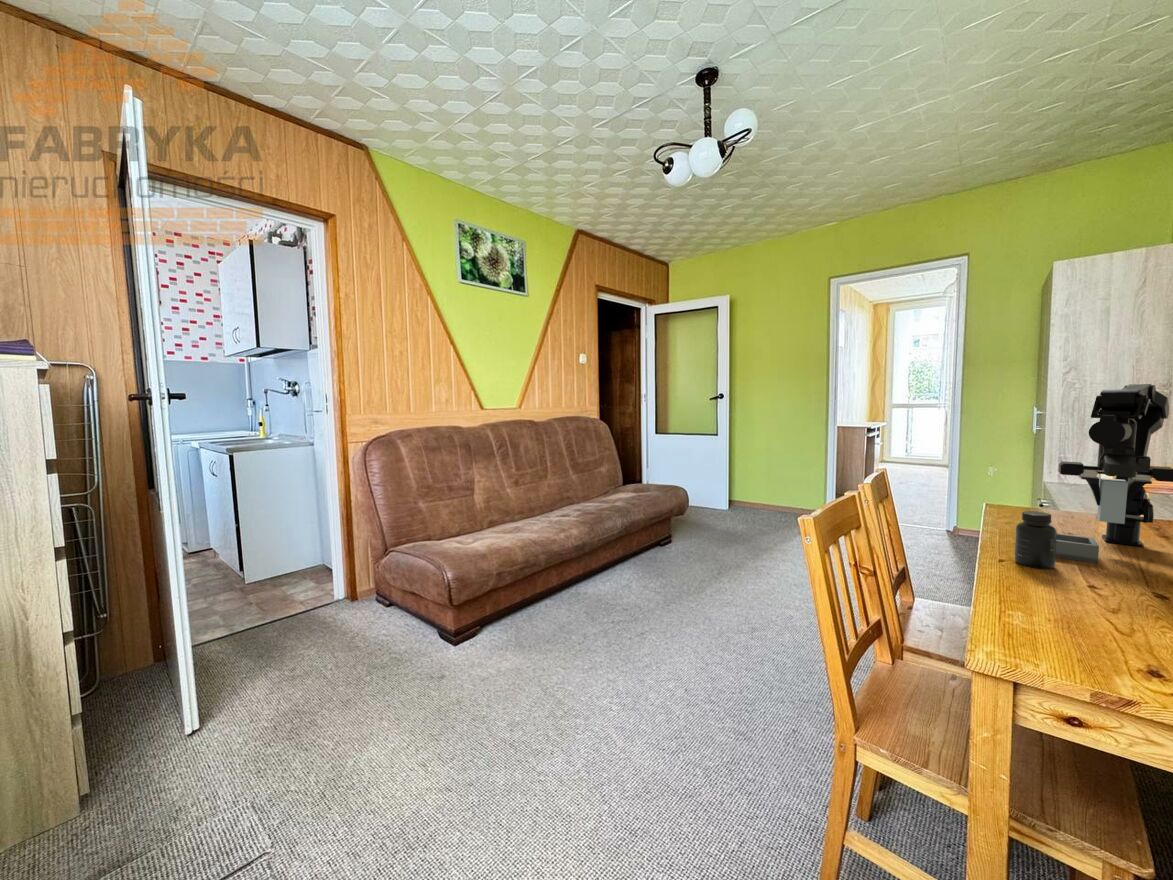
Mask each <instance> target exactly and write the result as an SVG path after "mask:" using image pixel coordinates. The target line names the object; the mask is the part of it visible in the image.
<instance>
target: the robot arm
mask: <svg viewBox="0 0 1173 880" xmlns="http://www.w3.org/2000/svg"><path fill="white" fill-rule="evenodd" d="M1092 407H1093V408H1092V409H1091V410H1092V411H1091V414H1090V418H1091V419H1099V421H1096V422H1094V423H1093V424H1092V425H1091V426H1090V427H1089V430H1088V436H1089V438H1090V439H1091V441H1092V442H1094V443H1096V444H1098V454H1097V466H1096V465H1084V464H1083V463H1082V462H1081V461H1079V462H1078V461H1063V460H1062V461H1060V462H1058V470H1057V471H1058V473H1059V474H1060V475H1062V476H1063V475H1065V476H1075V477H1076V476H1078V477H1079V478H1080V480H1084V481H1085V480H1086V482H1087V484H1088V486H1089V487H1090V490H1091V493H1092V496H1093V498H1094V501H1095V503H1096V506H1098V505H1099V506H1100V488H1099V487H1100V478H1099V477H1098V475H1105V476H1107V477H1115V478H1114V479H1121V480H1126V481H1127V482H1128V489H1127V501H1126V512H1125V524H1120V523H1111V522H1106V528H1105V529H1106V531H1105V534H1101V537H1102V539H1103V540H1104V542H1105V543H1110V544H1111V543H1112V544H1121V545H1129V546H1134V547H1145V544H1144V543H1143V542H1142V541H1141V540H1140V536H1141V525H1142V524H1141V523H1144V524H1148V523H1154V518H1155V517H1154V516H1155V515H1154V505H1153V504H1152V503H1151V499H1150V498H1149V497H1148V494H1147V492H1146V489H1145V488H1144V486H1145V485H1152V484H1153V481H1152V479H1154V480H1155V481H1157V482H1168V483H1173V468H1172V467H1171V466H1158V465H1157V466H1156V465H1151V457H1150V456H1149V455H1148V450H1149V445H1150V441H1151V437H1152V435H1153V434H1154V433H1157V432H1158V430H1160V429H1162V428H1163V425H1164V421H1165V420H1167V419H1168V418H1169V414H1170V404H1169V398H1168V397H1167V396H1166V395H1164V394H1162V393H1161V392H1159V391H1157V388H1156V385H1155V384H1151V383H1144V384H1143V383H1139V384H1136V383H1135V384H1133V383H1131V384H1130V383H1129V384H1128V385H1124V387H1122V388H1121V389H1102V390H1101V391H1100V394H1097V395H1096V396H1095V400H1094V403H1093V406H1092Z"/></svg>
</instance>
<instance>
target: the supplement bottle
mask: <svg viewBox="0 0 1173 880" xmlns="http://www.w3.org/2000/svg"><path fill="white" fill-rule="evenodd" d="M1021 520H1022V522H1019V523H1018V524H1016V526H1015V537H1014V539H1015V542H1014V544H1015V545H1014V561H1015V562H1016V563H1017V564H1018V565H1022V566H1025V567H1029V568H1034V569H1039V570H1040V569H1042V570H1047V569H1048V570H1049V569H1053V568H1055V566H1056V558H1057V557H1056V540H1057V532H1058V531H1057V529H1056V528H1055V527H1054V526H1053V525H1051V524H1052V514H1051V513H1049V512H1044V511H1043V512H1042V511H1035V510H1023V511H1022V514H1021Z"/></svg>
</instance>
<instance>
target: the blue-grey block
mask: <svg viewBox="0 0 1173 880" xmlns="http://www.w3.org/2000/svg"><path fill="white" fill-rule="evenodd" d="M1099 488H1100V506H1099V505H1097V511H1096V512H1097V513H1096V518H1097V520H1098V521H1099V522H1101V523H1102V522H1104V523H1107V522H1111V523H1120V524H1125V512H1126V501H1127V489H1128V482H1127V481H1126V480H1121V479H1115V478H1107V477H1105V478H1101V477H1100V478H1099Z"/></svg>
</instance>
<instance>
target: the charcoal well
mask: <svg viewBox="0 0 1173 880" xmlns="http://www.w3.org/2000/svg"><path fill="white" fill-rule="evenodd" d="M1099 551H1100V546H1099V544H1098V542H1097V541H1096V539H1095V538H1094V537H1089V536H1082V535H1081V536H1079V535H1073V534H1066V533H1065V534H1064V533H1057V540H1056V558H1058V559H1065V560H1072V561H1079V562H1088V563H1091V564H1092V563H1093V564H1099V554H1100V553H1099Z"/></svg>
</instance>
